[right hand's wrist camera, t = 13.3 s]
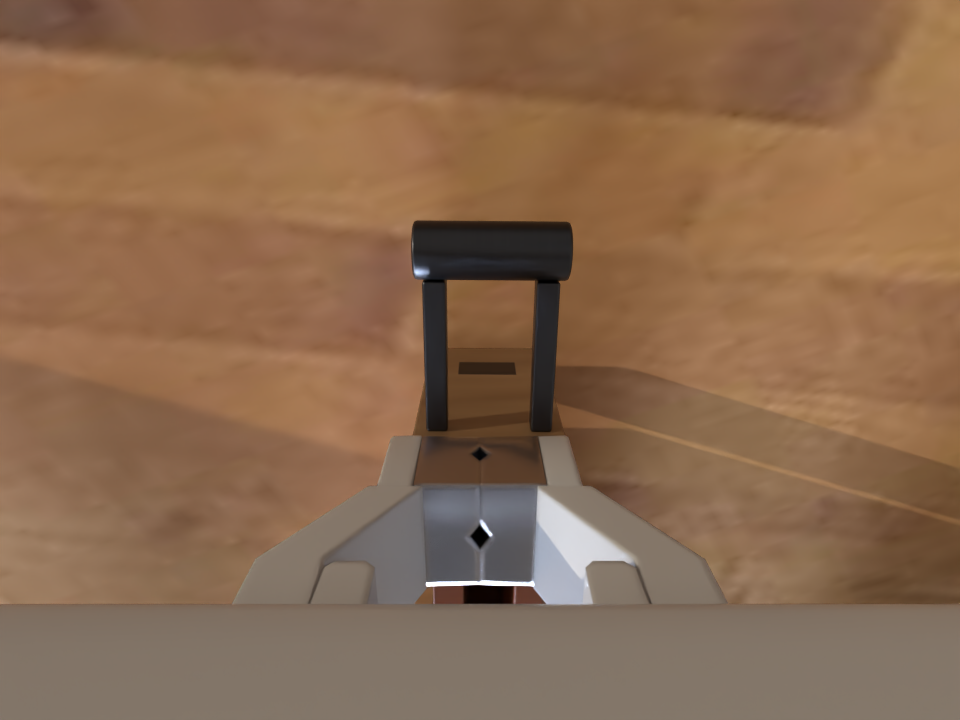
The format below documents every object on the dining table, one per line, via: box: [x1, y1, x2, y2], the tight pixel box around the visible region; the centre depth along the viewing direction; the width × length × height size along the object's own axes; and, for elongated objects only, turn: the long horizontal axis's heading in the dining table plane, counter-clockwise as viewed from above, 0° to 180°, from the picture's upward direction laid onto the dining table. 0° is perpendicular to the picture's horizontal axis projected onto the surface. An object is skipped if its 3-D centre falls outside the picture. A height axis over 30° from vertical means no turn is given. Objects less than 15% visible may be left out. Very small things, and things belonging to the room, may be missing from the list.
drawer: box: [411, 221, 573, 604], centre depth 21 cm, size 24×4×10 cm, turn 0°
